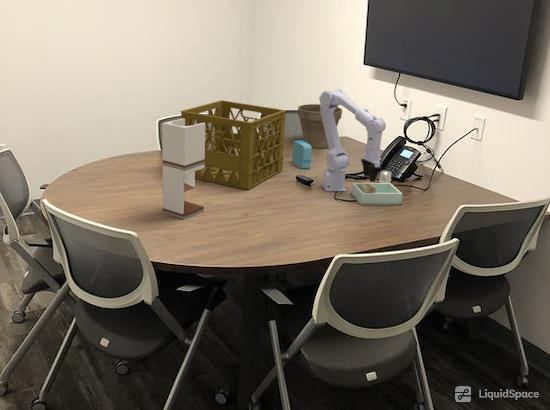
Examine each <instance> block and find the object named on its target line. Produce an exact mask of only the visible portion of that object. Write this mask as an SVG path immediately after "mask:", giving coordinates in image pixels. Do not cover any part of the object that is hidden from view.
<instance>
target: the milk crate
mask: <svg viewBox="0 0 550 410" xmlns="http://www.w3.org/2000/svg"><path fill="white" fill-rule="evenodd" d="M232 109H237V110H238V112H237V114H236V116H235V115H234V113H233V111H232ZM213 110H214V113H213ZM243 111H249V112H252V113H253V112H254V113H259V114H261V118H255V117H252V116H251V117H250V116H245V115H244V114H243ZM203 112H208V114H203ZM286 112H287V109H279V108H273V107H266V106H260V105H254V104H249V103H248V104H246V103H242V102H241V103H240V102H235V101H228V100H222V99H220V100H217V101H214V102H210V103H206V104H202V105H198V106H195V107H190V108H187V109H183V110H180V114H181V115H180V119H183V118H184V119H185V126H192V125H195V122H196V124H200V123H205V168H203V169H200V170H197V171H195V180H196V179H197V180H201V181H206V182H211V183H214V184H221V185H224V186H229V187H234V188H237V189H242V190H247V191H248V190H250V189H252V188H254V187H255V186H257V185H259V184H261V183H262V182H263V181H266V180H268V179H270V178H271V177H273V176H275V175H277V174H279V173H280V172H282V171H283V166H284V165H283V164H284V155H283V154H284V144H285V141H284V139H285V128H286V127H285V126H286V125H285V124H286V117H287V114H286ZM239 115H240V116H241V117H242V118H243V120H240V119H237V118H238V117H239ZM230 116H231V117H232V118H230ZM249 119H250V120H252V121H249ZM210 124H211V125H210ZM266 124H267V125H266ZM209 125H210V126H209ZM234 127H235V130H236V132H237V133H235V132H233V130H232V129H233V128H234ZM264 128H266V129H265V130H264ZM209 146H211V147H209Z"/></svg>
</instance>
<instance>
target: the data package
mask: <svg viewBox="0 0 550 410" xmlns="http://www.w3.org/2000/svg"><path fill="white" fill-rule="evenodd" d="M312 150H313V148H312V147H311V145H310V144H308V143H306V142H304V140H294V141H293V145H292V155H291V156H292V158H291V161H292V164H294V166H296V167H298V168H299V169H301V170H302V169H303V170H305V169H306V170H307V169H310V168H311V161H312Z"/></svg>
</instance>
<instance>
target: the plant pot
mask: <svg viewBox="0 0 550 410" xmlns="http://www.w3.org/2000/svg"><path fill="white" fill-rule="evenodd" d="M320 105H321V104H320V103H316V104H314V103H313V104H311V103H310V104H307V103H306V104H302V105H299V106H298V107H297V117H298V118H299V121H300V126H301V128H300V129H301V132H302V138H303V141H304V142H306V143H308V144H310V145H311V147H312V149H313V148H314V149H326V148H329V146H328V142H327V138H326V134H325V130H324V126H323V122H322V117H321V113H320ZM333 114H334V118H335V122H336V127H337V128H338V124H339V121H340V120H341V119H342V114H343V109H342V108H341V107H339V106H338V107H337V108H336V109H335V111H334V112H333Z"/></svg>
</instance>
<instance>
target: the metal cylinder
mask: <svg viewBox="0 0 550 410" xmlns="http://www.w3.org/2000/svg"><path fill="white" fill-rule="evenodd" d="M391 179H392V171H390V170H384V169H383V170H380V173H379V180H378V183H391Z"/></svg>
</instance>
